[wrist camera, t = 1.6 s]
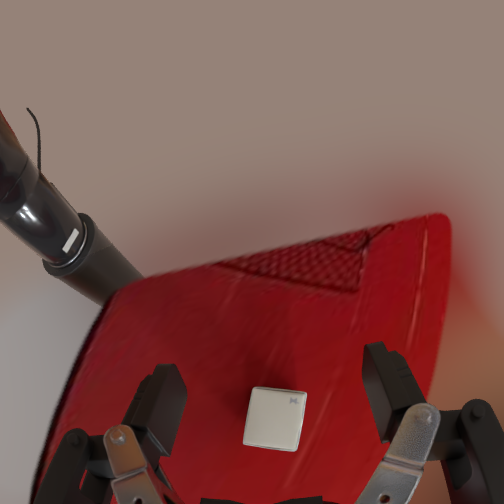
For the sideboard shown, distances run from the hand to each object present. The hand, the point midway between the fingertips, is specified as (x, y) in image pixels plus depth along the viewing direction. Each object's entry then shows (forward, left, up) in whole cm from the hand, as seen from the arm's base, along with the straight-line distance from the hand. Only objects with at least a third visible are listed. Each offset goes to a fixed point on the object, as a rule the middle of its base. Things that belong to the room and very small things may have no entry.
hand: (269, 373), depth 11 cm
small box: (+3, -1, -18) cm, 19 cm away
